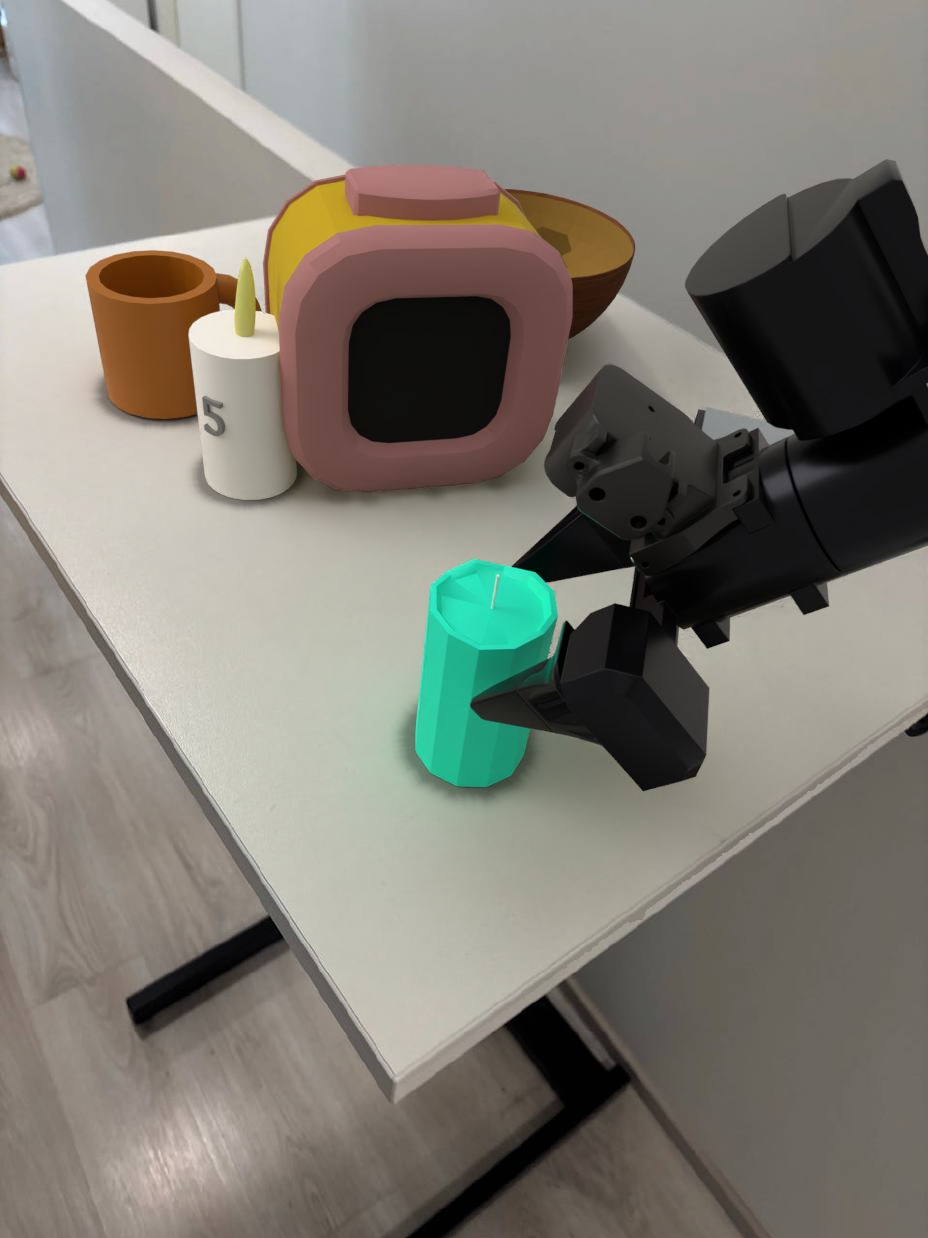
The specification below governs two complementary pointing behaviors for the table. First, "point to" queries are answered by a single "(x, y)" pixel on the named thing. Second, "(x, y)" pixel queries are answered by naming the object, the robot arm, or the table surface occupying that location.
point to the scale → (736, 425)
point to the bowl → (582, 250)
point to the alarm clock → (414, 327)
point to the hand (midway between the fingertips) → (496, 638)
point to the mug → (153, 326)
